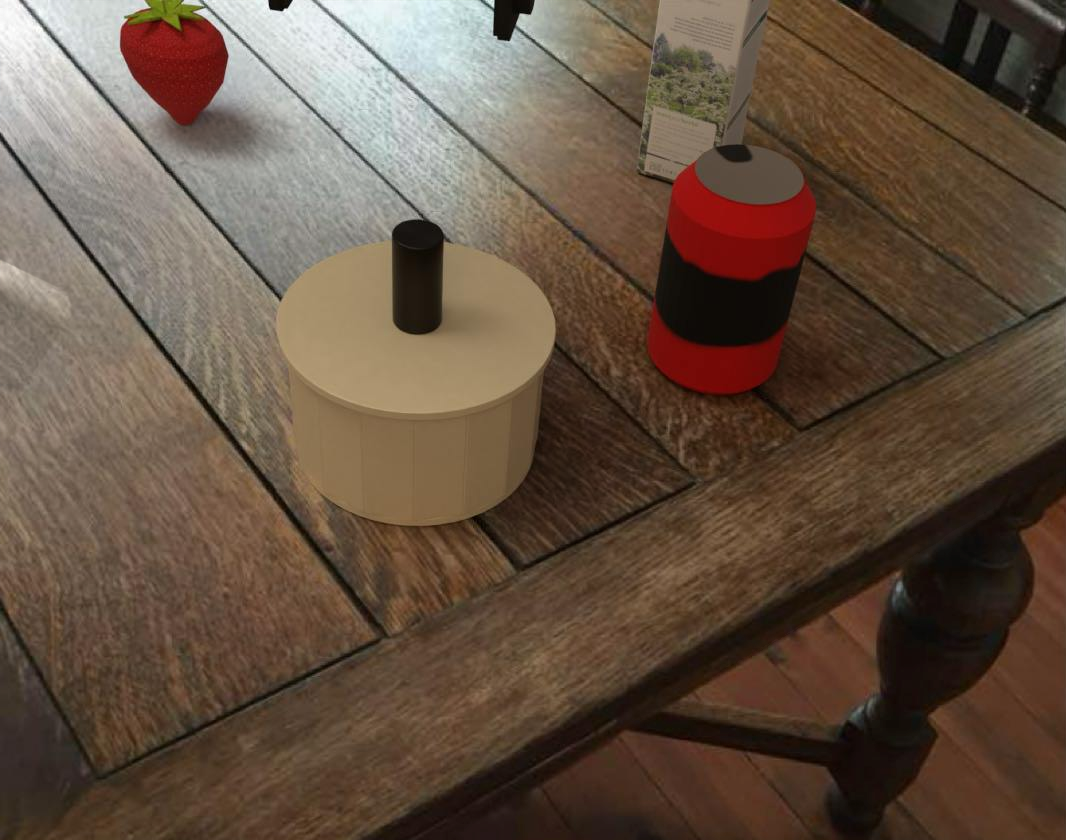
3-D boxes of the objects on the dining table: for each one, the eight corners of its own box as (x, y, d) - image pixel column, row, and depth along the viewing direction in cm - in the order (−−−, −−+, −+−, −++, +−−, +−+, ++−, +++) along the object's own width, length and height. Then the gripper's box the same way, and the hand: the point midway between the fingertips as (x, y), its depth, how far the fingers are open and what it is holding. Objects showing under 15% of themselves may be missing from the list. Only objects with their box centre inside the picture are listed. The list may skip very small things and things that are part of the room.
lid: (241, 405, 63) (228, 298, 58) (319, 239, 72) (313, 136, 68) (530, 451, 62) (540, 346, 58) (571, 278, 71) (583, 176, 67)
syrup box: (740, 158, 94) (783, -52, 83) (712, 199, 90) (752, -15, 79) (663, 135, 95) (696, -74, 85) (632, 175, 91) (662, -39, 81)
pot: (266, 504, 68) (253, 390, 63) (331, 349, 77) (325, 237, 71) (513, 544, 67) (522, 433, 62) (551, 383, 76) (562, 273, 71)
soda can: (744, 307, 82) (785, 128, 73) (797, 387, 77) (847, 206, 69) (627, 324, 80) (654, 142, 72) (674, 407, 75) (709, 223, 67)
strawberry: (197, 162, 89) (179, 14, 82) (110, 124, 91) (85, -22, 84) (256, 124, 93) (243, -20, 85) (170, 89, 95) (151, -54, 88)
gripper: (100, -483, 44) (171, 25, 56) (631, -426, 43) (584, 80, 55) (178, -524, 49) (228, -50, 61) (654, -474, 48) (606, -1, 60)
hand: (396, 11), depth 58 cm, fingers open, 9 cm apart
